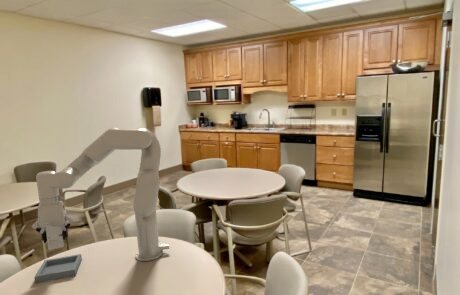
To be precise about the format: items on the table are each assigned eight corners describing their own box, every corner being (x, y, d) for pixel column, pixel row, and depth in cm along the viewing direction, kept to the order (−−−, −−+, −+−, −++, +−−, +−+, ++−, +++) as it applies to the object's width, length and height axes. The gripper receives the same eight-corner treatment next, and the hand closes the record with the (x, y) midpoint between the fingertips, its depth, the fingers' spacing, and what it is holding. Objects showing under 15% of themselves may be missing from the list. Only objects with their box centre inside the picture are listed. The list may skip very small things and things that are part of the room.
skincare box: (48, 251, 126) (44, 223, 124) (47, 247, 130) (44, 220, 128) (65, 246, 129) (61, 219, 128) (64, 242, 133) (60, 216, 131)
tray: (81, 259, 140) (81, 253, 140) (75, 276, 127) (74, 269, 126) (45, 266, 136) (44, 260, 135) (35, 283, 123) (34, 276, 122)
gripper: (74, 195, 132) (79, 233, 135) (29, 200, 128) (35, 239, 130) (70, 200, 125) (75, 240, 128) (23, 205, 121) (29, 247, 123)
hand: (55, 239), depth 129 cm, fingers closed on skincare box, 6 cm apart
